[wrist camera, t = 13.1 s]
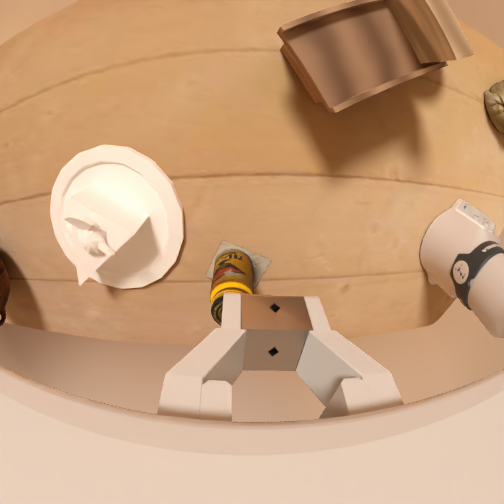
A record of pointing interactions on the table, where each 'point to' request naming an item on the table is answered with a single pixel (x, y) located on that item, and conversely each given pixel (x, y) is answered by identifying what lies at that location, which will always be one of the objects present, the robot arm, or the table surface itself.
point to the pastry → (496, 105)
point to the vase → (3, 290)
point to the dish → (117, 217)
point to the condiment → (233, 274)
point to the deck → (350, 53)
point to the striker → (431, 29)
